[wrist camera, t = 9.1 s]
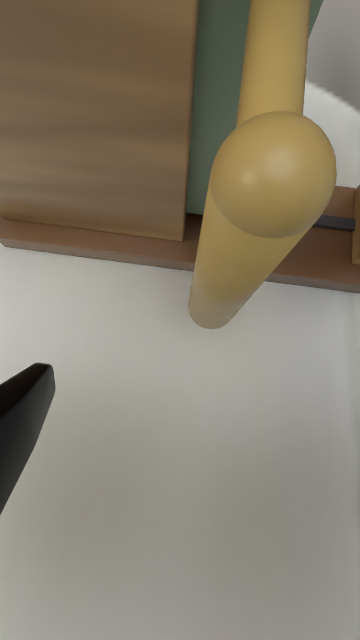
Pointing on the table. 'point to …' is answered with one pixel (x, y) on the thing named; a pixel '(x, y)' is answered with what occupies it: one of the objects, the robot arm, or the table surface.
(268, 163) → the door
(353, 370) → the table surface
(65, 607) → the table surface
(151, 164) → the door frame
